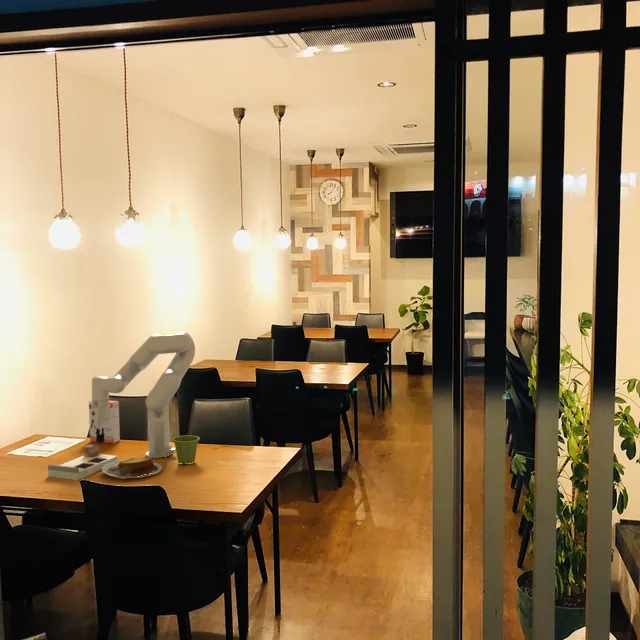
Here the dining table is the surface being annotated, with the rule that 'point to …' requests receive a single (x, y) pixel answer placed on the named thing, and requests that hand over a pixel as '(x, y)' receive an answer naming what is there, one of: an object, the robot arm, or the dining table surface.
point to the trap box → (80, 467)
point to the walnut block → (91, 450)
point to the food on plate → (131, 468)
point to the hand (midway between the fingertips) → (100, 442)
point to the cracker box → (114, 429)
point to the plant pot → (186, 448)
